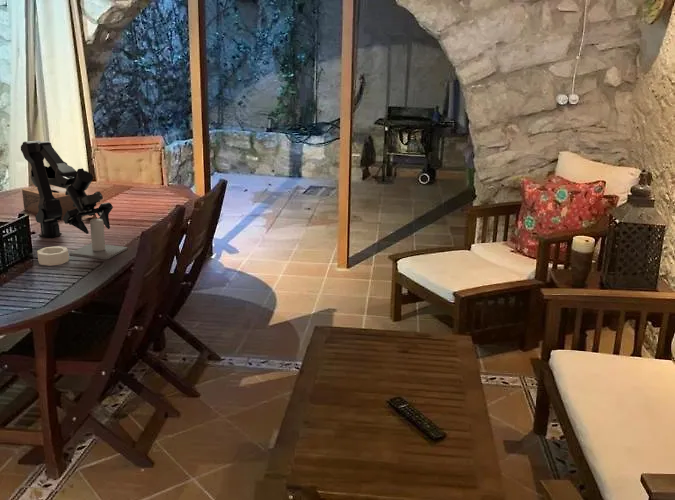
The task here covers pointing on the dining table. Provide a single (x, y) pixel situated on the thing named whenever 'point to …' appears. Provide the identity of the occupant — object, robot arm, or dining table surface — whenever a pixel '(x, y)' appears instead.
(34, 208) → the tissue box cover
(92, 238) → the beverage can
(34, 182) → the coal bowl
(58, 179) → the robot arm
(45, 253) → the holder ring
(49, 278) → the dining table surface
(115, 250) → the rubber mat
